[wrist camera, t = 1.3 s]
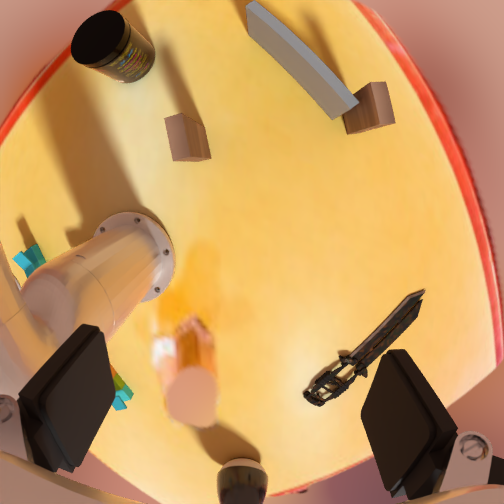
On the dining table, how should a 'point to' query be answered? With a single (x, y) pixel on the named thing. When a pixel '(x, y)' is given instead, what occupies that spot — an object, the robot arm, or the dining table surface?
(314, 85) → the door
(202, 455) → the dining table surface
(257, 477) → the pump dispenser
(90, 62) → the supplement container
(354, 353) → the knife
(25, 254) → the chart
